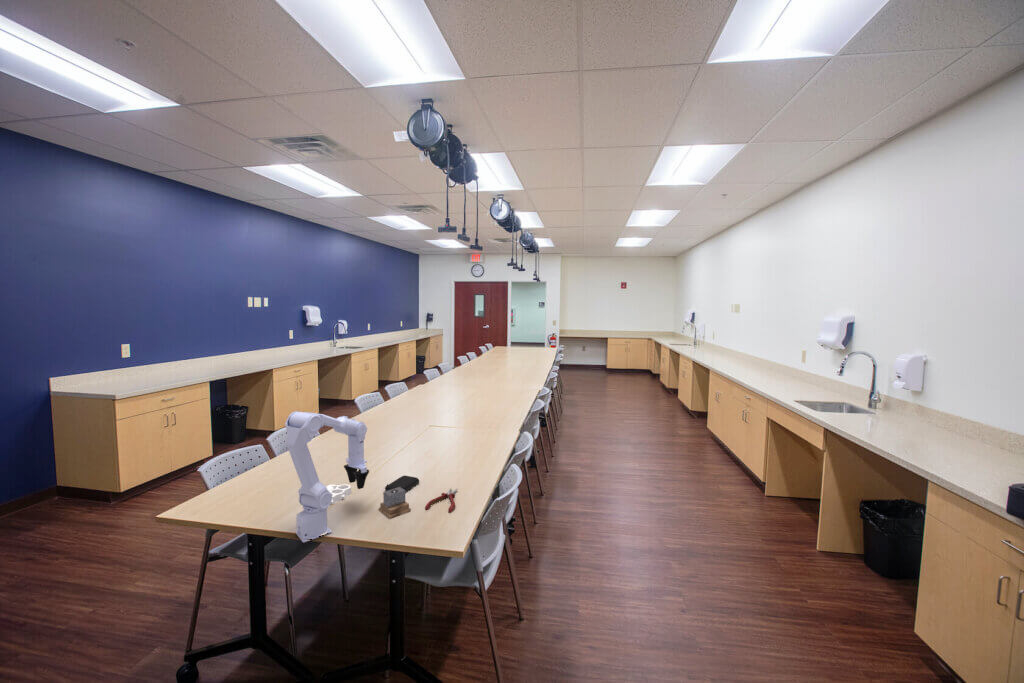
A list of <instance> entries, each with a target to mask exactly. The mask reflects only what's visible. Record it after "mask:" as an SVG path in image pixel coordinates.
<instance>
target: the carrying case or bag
mask: <svg viewBox="0 0 1024 683" xmlns="http://www.w3.org/2000/svg"><path fill="white" fill-rule="evenodd" d="M419 483H420V480H419V478H418V477H414V476H409V475H402V476H399V477H398V478H397V479H395V480H394V481H392V482H390V483H389V484H388V483H387V484H386V486H385V487H384V490H385V491H388V490H391V489H395V488H398V487H401V488H402V489H404V490H405V493H407V492H408V491H409V489H410V490H411V489H412V487H413V486H414V487H415V486H417V485H418V484H419ZM416 484H417V485H416ZM414 487H413V488H414ZM406 491H407V492H406Z"/></svg>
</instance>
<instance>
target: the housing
mask: <svg viewBox="0 0 1024 683" xmlns="http://www.w3.org/2000/svg"><path fill="white" fill-rule="evenodd" d="M382 495H383V498H382V499H383V503H384V505H385V506H386V507H388V508H392V507H395V506H398V505H400V504H403V503H405V502H406V492H405V490H404V489H402V488H401V487H398V488H395V489H391V490H388V491H386V490H385V491H383V494H382Z"/></svg>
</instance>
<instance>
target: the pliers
mask: <svg viewBox="0 0 1024 683" xmlns="http://www.w3.org/2000/svg"><path fill="white" fill-rule="evenodd" d="M457 492H458V488H456V489H453V490H452V488H449V489H448V490H447V492H446V493H445V492H442V493H441V495H440V496H437V497H435V498H433V499H431V500H428V502H427V503H426V504H425V508H424V509H425V511H426V510H429V509H430V508H431V507H432V506H434V505H436V504H438V503H440V502H443V501H445V500H447V499H448V500H450V501H449V503H450V502H451V503H450V505H449V507H448V510H447V511H448V512H447V513H448V514H451V513H453V511H454V510H455V508H456V503H455V499H456V493H457ZM446 498H447V499H446ZM453 498H455V499H453ZM444 499H445V500H444ZM442 500H443V501H442ZM439 501H440V502H439ZM437 502H438V503H437ZM435 503H436V504H435ZM433 504H434V505H433ZM431 505H432V506H431ZM430 506H431V507H430Z"/></svg>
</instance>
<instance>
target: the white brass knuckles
mask: <svg viewBox="0 0 1024 683" xmlns="http://www.w3.org/2000/svg"><path fill="white" fill-rule="evenodd" d="M325 486H326V487H327V490H328V491H329V492H330V493H331V494H332V501H331V503H330V504H331V505H334V504H335V503H337V502H341V501H342V499H343V500H344V499H345V498H346V497H347V496H350V495H351V494H352V486H351V485H350V484H347V483H345V484H339V485H338V484H337V485H335V484H334V483H332V484H329V485H325ZM345 496H346V497H345ZM340 500H341V501H340ZM333 503H334V504H333Z"/></svg>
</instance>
